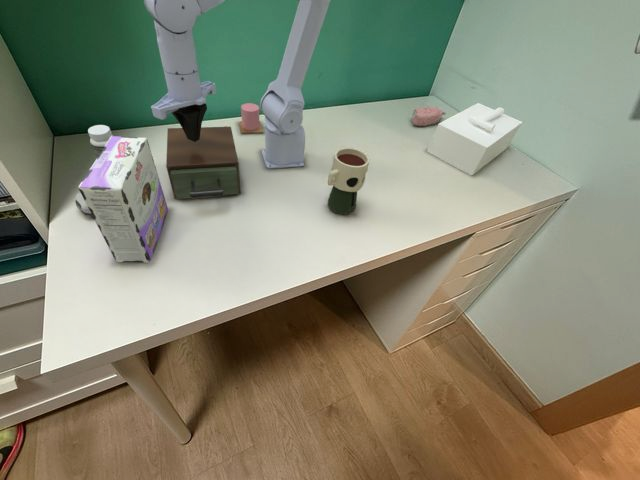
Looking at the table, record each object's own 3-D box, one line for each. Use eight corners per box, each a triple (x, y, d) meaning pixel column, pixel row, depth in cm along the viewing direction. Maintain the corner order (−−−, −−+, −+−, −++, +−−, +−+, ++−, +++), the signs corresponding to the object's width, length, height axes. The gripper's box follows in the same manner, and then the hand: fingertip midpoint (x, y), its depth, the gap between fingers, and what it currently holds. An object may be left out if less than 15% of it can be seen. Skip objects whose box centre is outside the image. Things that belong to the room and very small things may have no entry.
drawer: (240, 208, 68) (239, 183, 63) (176, 214, 64) (170, 188, 60) (231, 158, 79) (229, 135, 75) (176, 161, 76) (171, 137, 71)
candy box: (138, 209, 65) (110, 133, 53) (169, 210, 66) (148, 136, 54) (114, 263, 56) (74, 186, 44) (151, 263, 57) (121, 188, 45)
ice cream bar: (453, 111, 107) (421, 116, 101) (448, 123, 110) (416, 129, 104) (440, 102, 110) (408, 107, 104) (435, 114, 114) (403, 119, 107)
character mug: (333, 225, 69) (344, 174, 59) (312, 206, 72) (319, 155, 63) (369, 207, 74) (383, 158, 65) (348, 190, 78) (359, 141, 68)
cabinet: (240, 193, 72) (238, 162, 66) (174, 198, 69) (166, 166, 63) (233, 156, 82) (230, 126, 76) (174, 159, 78) (167, 128, 72)
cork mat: (259, 122, 95) (259, 120, 94) (263, 133, 91) (263, 131, 91) (238, 123, 93) (238, 121, 93) (241, 134, 89) (241, 132, 89)
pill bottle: (115, 171, 72) (101, 137, 66) (95, 167, 73) (80, 132, 66) (128, 160, 76) (116, 126, 70) (109, 156, 76) (95, 122, 70)
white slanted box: (426, 151, 95) (441, 115, 87) (466, 128, 109) (481, 95, 101) (471, 175, 89) (491, 139, 81) (507, 147, 102) (527, 114, 95)
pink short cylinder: (262, 125, 93) (262, 106, 89) (253, 132, 90) (252, 113, 86) (248, 120, 94) (247, 101, 90) (238, 126, 91) (237, 107, 87)
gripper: (168, 88, 51) (183, 162, 61) (225, 63, 61) (231, 131, 71) (133, 75, 53) (154, 149, 63) (195, 53, 62) (205, 121, 72)
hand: (193, 139), depth 67 cm, fingers closed
